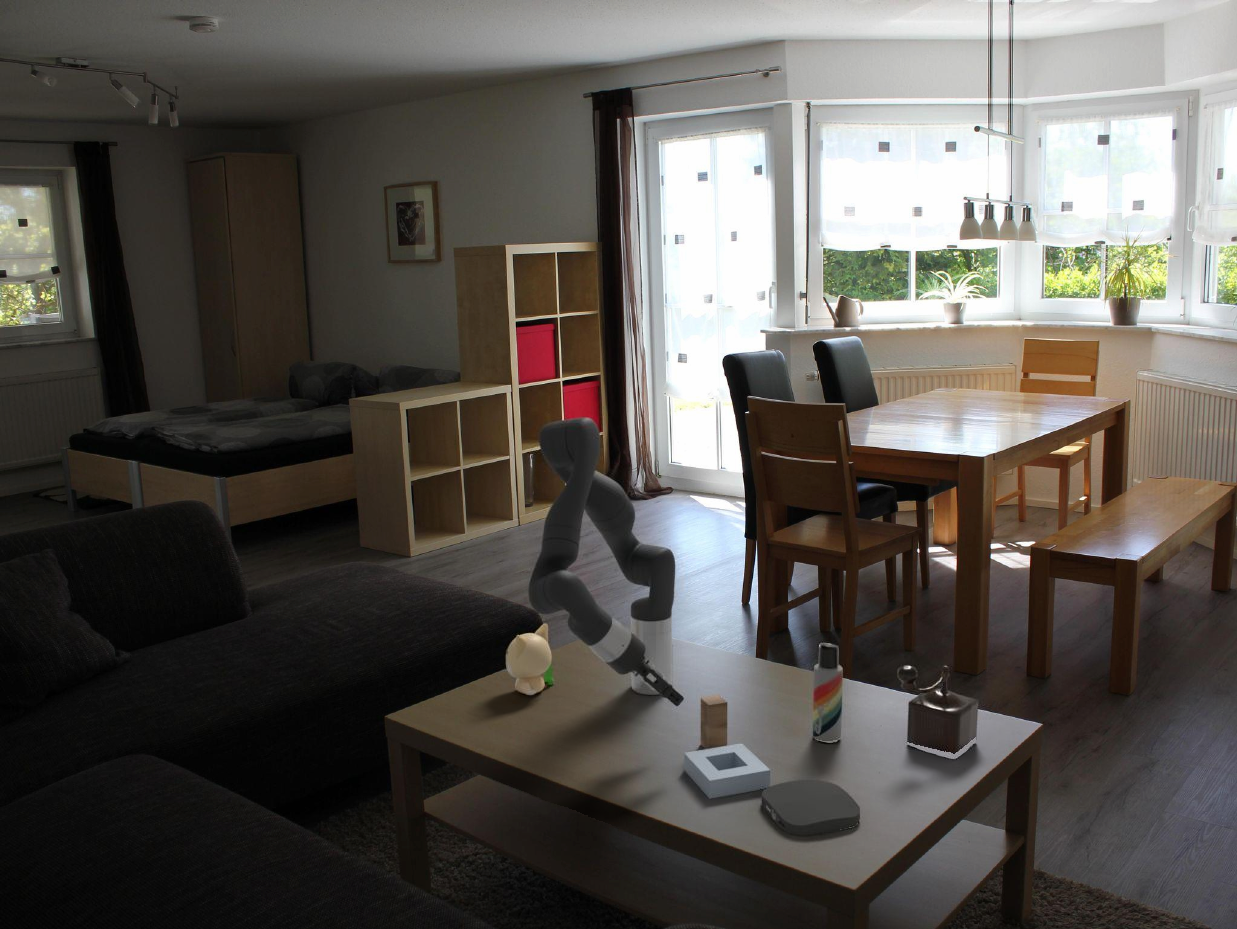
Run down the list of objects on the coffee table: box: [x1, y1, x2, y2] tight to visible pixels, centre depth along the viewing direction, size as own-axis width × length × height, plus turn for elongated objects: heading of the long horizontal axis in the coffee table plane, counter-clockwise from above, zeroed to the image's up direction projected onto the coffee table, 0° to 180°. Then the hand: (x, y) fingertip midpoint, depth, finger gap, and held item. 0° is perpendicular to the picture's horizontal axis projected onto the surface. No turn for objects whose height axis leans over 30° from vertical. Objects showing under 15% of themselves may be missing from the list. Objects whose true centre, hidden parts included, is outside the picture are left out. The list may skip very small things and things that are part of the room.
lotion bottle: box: [812, 642, 844, 741], centre depth 214 cm, size 6×6×20 cm
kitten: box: [505, 623, 555, 696], centre depth 242 cm, size 15×10×15 cm
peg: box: [700, 694, 728, 750], centre depth 212 cm, size 4×4×10 cm
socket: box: [683, 743, 771, 800], centre depth 199 cm, size 12×12×4 cm
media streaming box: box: [761, 779, 861, 837], centre depth 187 cm, size 15×15×3 cm
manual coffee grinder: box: [896, 664, 979, 754], centre depth 209 cm, size 16×11×18 cm
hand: (672, 694), depth 208 cm, fingers open, 8 cm apart
